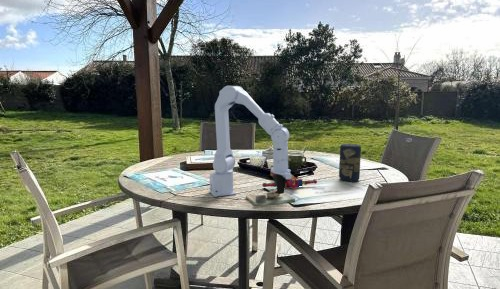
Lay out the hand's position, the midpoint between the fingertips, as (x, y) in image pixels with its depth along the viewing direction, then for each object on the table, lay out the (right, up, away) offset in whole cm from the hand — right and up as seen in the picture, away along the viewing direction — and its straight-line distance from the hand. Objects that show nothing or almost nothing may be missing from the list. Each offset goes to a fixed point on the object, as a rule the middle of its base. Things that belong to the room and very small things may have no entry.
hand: (280, 193), depth 142 cm
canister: (+35, +2, +31) cm, 47 cm away
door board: (-4, -2, -1) cm, 5 cm away
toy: (+4, +1, +25) cm, 25 cm away
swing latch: (-3, -1, -1) cm, 3 cm away
